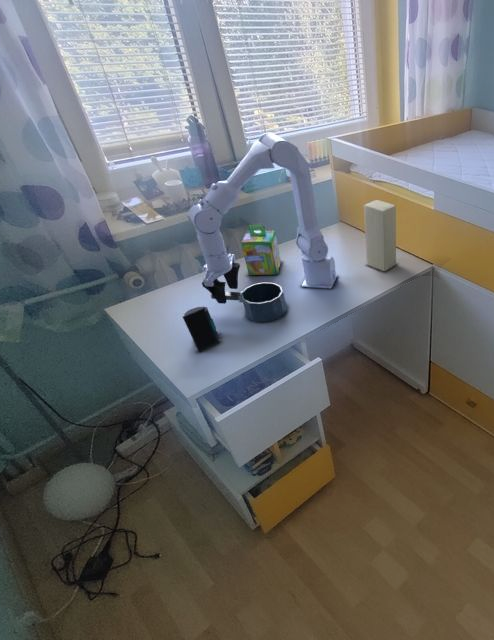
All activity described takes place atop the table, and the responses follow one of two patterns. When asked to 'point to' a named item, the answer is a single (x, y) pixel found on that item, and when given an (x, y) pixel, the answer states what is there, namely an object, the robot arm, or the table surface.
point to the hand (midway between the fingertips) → (228, 295)
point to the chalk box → (261, 251)
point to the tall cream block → (380, 234)
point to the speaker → (201, 327)
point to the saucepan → (261, 301)
